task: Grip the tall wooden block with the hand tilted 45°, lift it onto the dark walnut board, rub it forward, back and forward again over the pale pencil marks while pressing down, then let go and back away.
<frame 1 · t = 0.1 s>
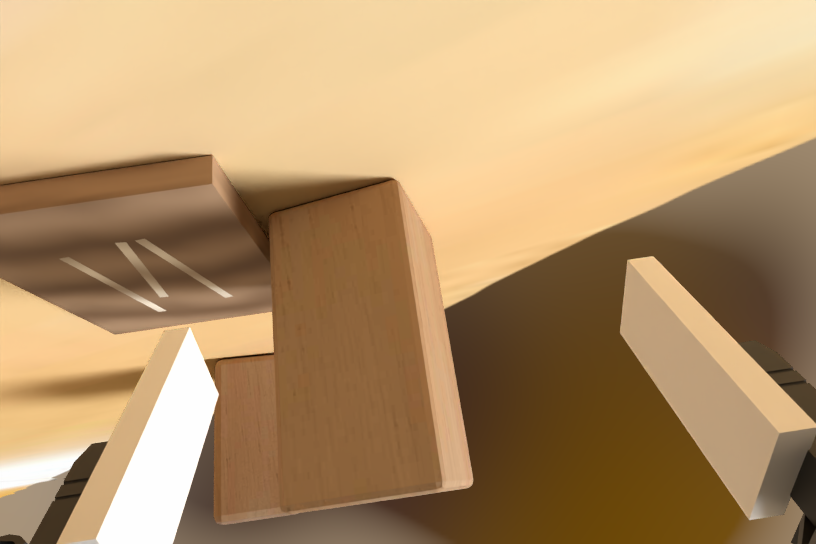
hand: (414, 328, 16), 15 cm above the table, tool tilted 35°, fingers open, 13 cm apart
marked board: (152, 254, 41), on the table
wooden block: (355, 222, 42), on the table
block: (257, 362, 75), on the table
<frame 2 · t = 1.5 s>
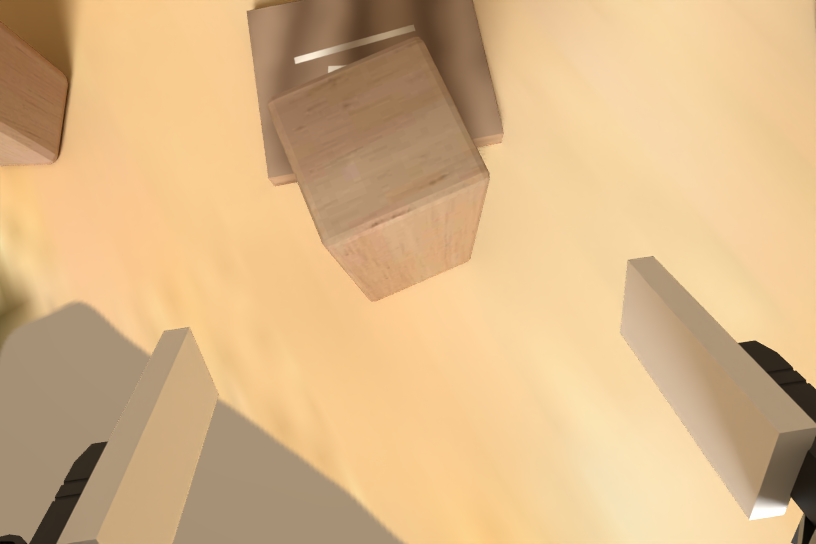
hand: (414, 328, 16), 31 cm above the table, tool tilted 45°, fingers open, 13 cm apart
marked board: (372, 81, 53), on the table
wooden block: (400, 234, 50), on the table
block: (21, 124, 54), on the table
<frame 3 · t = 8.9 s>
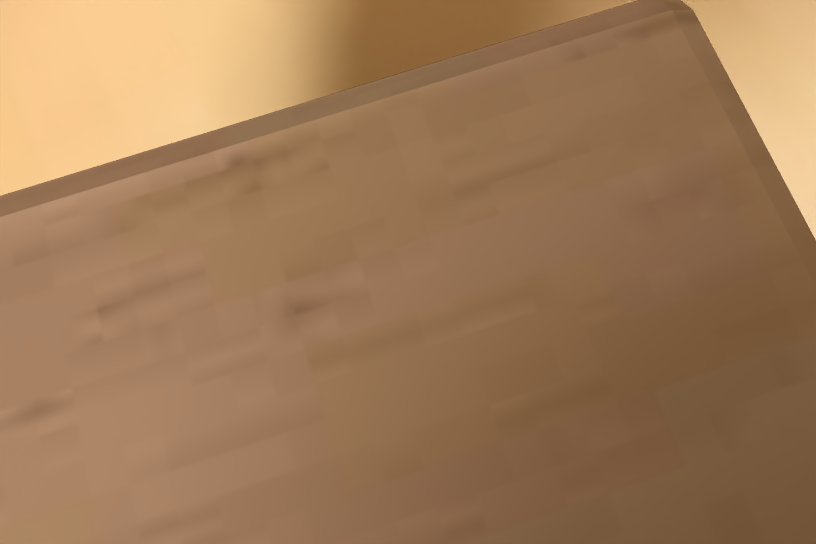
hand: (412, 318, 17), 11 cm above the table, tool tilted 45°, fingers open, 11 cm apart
wooden block: (428, 422, 25), point 2 cm above the table, touching marked board
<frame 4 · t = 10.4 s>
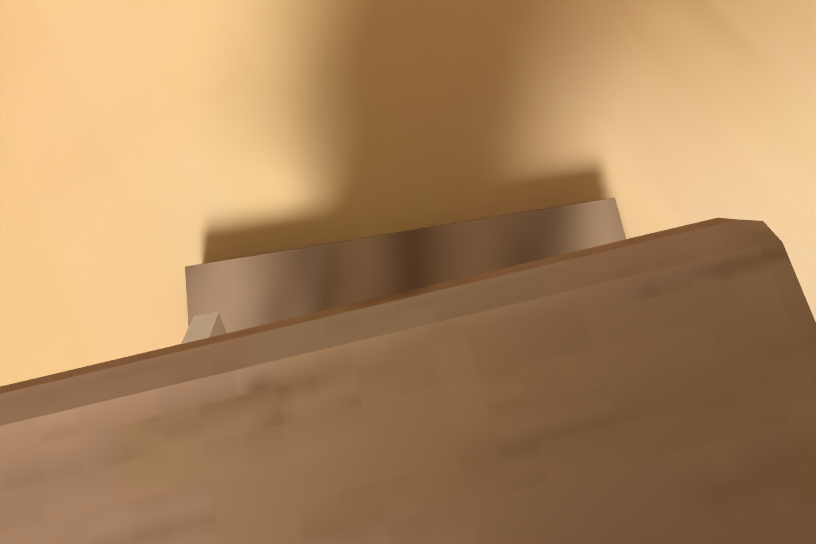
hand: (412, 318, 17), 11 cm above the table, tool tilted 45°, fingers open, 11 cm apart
marked board: (429, 412, 27), on the table
wooden block: (430, 482, 24), point 2 cm above the table, touching marked board
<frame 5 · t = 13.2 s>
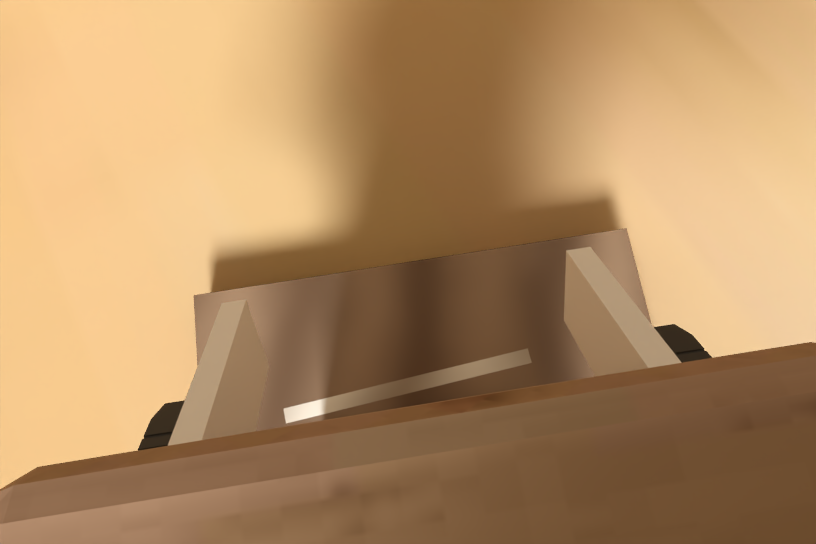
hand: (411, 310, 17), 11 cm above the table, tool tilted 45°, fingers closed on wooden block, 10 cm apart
marked board: (438, 444, 27), on the table
wooden block: (443, 516, 24), point 2 cm above the table, touching gripper, marked board
when the fingers open (11 cm above the table, at t = 13.3 s): wooden block stays where it is, resting on marked board.
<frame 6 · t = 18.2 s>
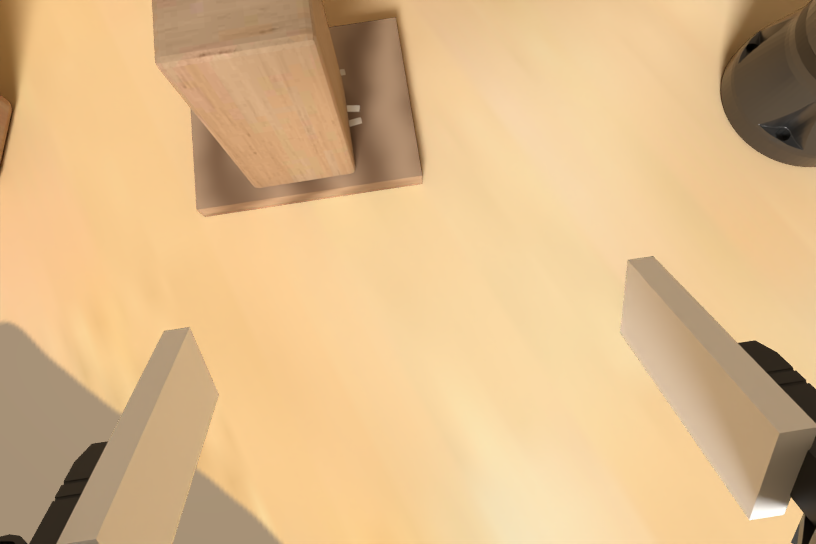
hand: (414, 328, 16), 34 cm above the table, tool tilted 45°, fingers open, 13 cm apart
marked board: (304, 119, 55), on the table
wooden block: (300, 137, 53), point 2 cm above the table, touching marked board
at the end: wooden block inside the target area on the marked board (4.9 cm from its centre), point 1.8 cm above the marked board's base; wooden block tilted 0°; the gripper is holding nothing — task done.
